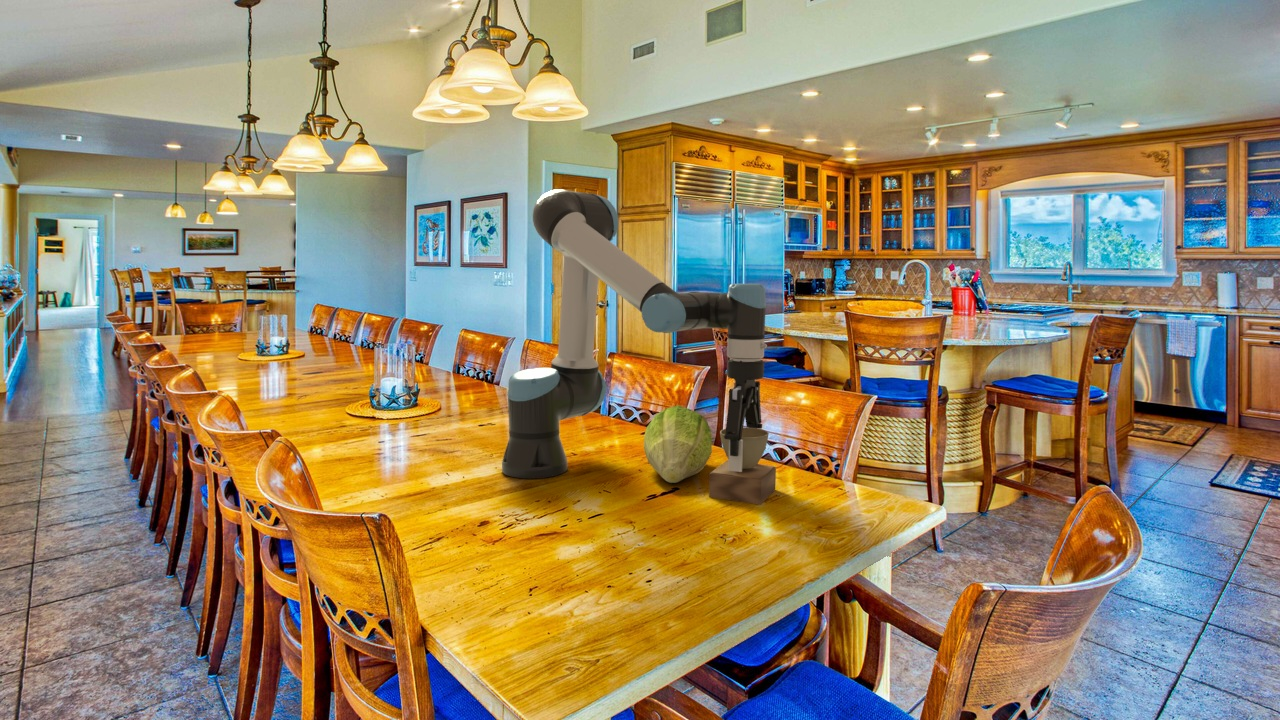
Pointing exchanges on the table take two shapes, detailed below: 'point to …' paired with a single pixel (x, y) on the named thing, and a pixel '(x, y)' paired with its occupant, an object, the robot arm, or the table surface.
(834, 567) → the table surface
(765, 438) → the flower pot
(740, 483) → the walnut block
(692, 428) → the lettuce
